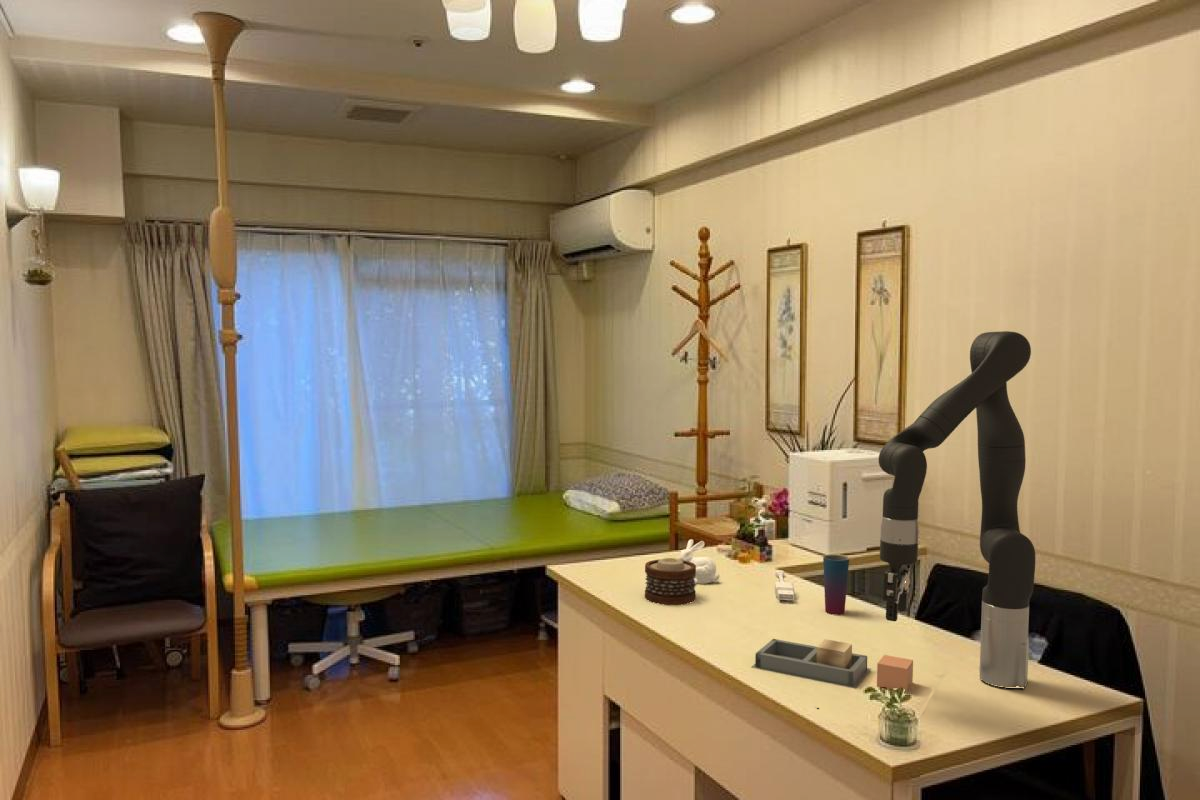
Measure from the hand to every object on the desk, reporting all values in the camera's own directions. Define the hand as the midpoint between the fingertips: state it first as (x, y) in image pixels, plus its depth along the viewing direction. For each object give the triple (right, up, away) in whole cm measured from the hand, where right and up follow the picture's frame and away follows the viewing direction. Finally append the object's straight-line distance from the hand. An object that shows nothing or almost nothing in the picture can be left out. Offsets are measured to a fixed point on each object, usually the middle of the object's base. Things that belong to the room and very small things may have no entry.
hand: (896, 615), depth 188 cm
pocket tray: (-15, -15, +10) cm, 24 cm away
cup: (+1, -12, +54) cm, 56 cm away
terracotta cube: (0, -16, +1) cm, 16 cm away
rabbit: (-33, -10, +85) cm, 91 cm away
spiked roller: (-42, -11, +67) cm, 80 cm away
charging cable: (-8, -11, +77) cm, 79 cm away
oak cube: (-11, -14, +7) cm, 20 cm away
